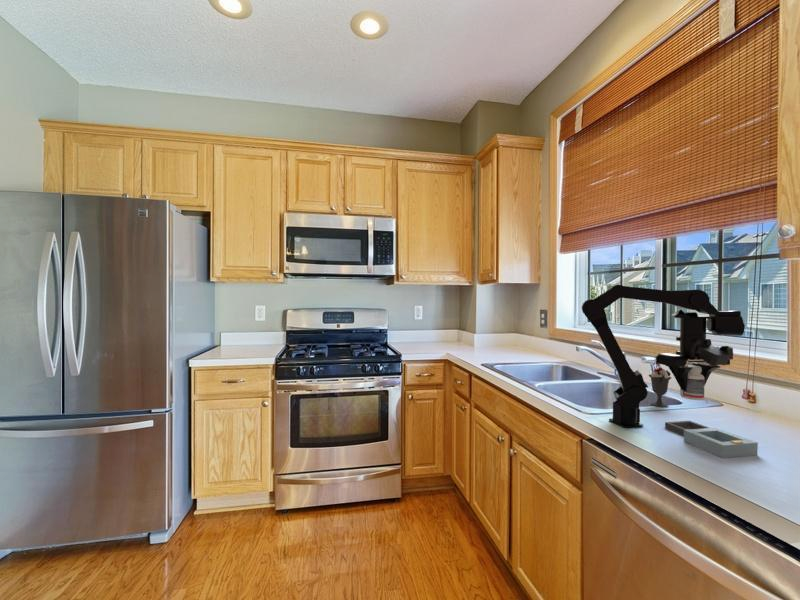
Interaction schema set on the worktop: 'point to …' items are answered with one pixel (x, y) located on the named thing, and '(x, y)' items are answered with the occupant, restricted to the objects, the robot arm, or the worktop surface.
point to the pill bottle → (694, 384)
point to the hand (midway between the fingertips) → (692, 389)
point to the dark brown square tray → (682, 426)
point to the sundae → (660, 384)
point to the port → (721, 442)
